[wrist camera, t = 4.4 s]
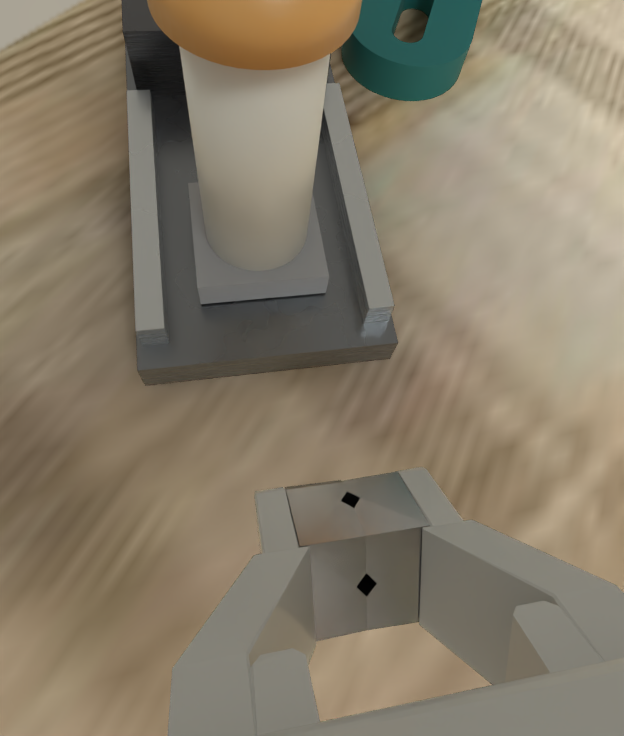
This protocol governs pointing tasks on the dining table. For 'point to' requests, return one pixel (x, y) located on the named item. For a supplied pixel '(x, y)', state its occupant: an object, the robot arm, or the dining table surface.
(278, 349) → the mount
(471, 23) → the bracket
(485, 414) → the dining table surface
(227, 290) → the knob
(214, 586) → the dining table surface
